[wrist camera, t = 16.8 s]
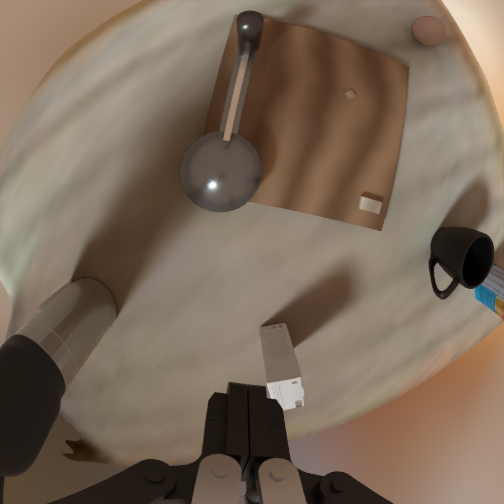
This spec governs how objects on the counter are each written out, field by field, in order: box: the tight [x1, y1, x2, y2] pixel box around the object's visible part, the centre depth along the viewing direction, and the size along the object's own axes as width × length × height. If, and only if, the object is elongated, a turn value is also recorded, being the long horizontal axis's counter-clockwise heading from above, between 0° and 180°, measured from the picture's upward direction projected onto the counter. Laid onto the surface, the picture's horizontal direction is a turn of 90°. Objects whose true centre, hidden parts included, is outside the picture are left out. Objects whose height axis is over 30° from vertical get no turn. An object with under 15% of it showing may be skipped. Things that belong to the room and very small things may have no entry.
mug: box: [429, 227, 494, 299], centre depth 33 cm, size 8×12×10 cm
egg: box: [412, 16, 446, 46], centre depth 24 cm, size 5×5×7 cm
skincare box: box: [259, 323, 305, 410], centre depth 35 cm, size 6×4×12 cm
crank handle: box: [180, 11, 264, 212], centre depth 26 cm, size 22×9×8 cm, turn 169°
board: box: [204, 15, 409, 231], centre depth 30 cm, size 25×25×3 cm
